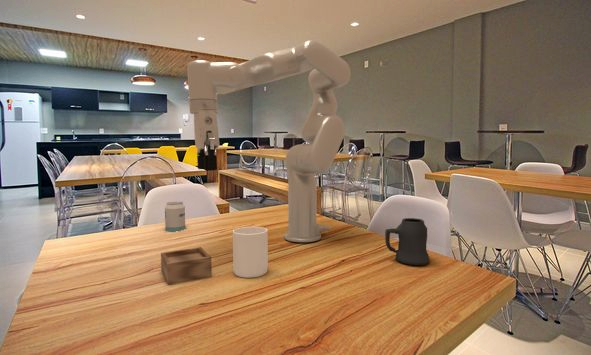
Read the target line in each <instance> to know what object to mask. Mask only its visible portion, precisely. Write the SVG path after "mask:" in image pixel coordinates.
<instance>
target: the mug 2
mask: <svg viewBox="0 0 591 355" xmlns="http://www.w3.org/2000/svg"><path fill="white" fill-rule="evenodd" d="M384 233H385V234H384V235H385V236H384V237H385V239H384V240H385V246H386V248H387V249H388V251H390V252H393V253H394V254H395V260H396V261H398V262H399V263H402V264H405V265H410V266H411V265H413V266H421V265H427V264H429V263H430V256H429V252H428V251H427V241H428V227H427V226H426V224H425V221H424V220H423V219H422V218H414V217H413V218H412V217H406V218H402V220H401V222H400V223H399V225H398V226H397V227H396V228H386V229H385V232H384ZM391 234H395V235H398V243H397V244H398V248H397V249H396V248H394V247H392V246H391V244H390V242H391V240H390V237H391Z"/></svg>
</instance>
